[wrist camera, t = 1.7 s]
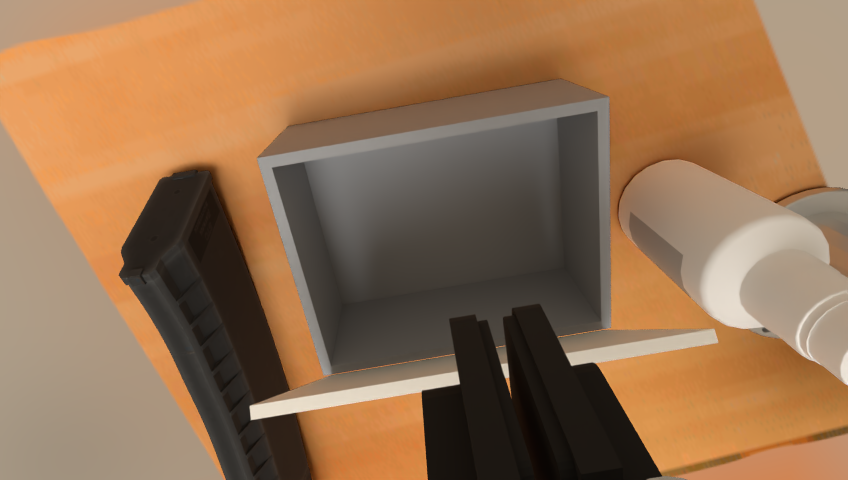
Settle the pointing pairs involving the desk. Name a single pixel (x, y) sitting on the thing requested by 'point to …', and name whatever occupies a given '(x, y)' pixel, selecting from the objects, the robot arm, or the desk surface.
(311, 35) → the desk surface
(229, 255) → the magazine
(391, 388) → the carton flap
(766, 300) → the spray bottle
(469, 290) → the carton
